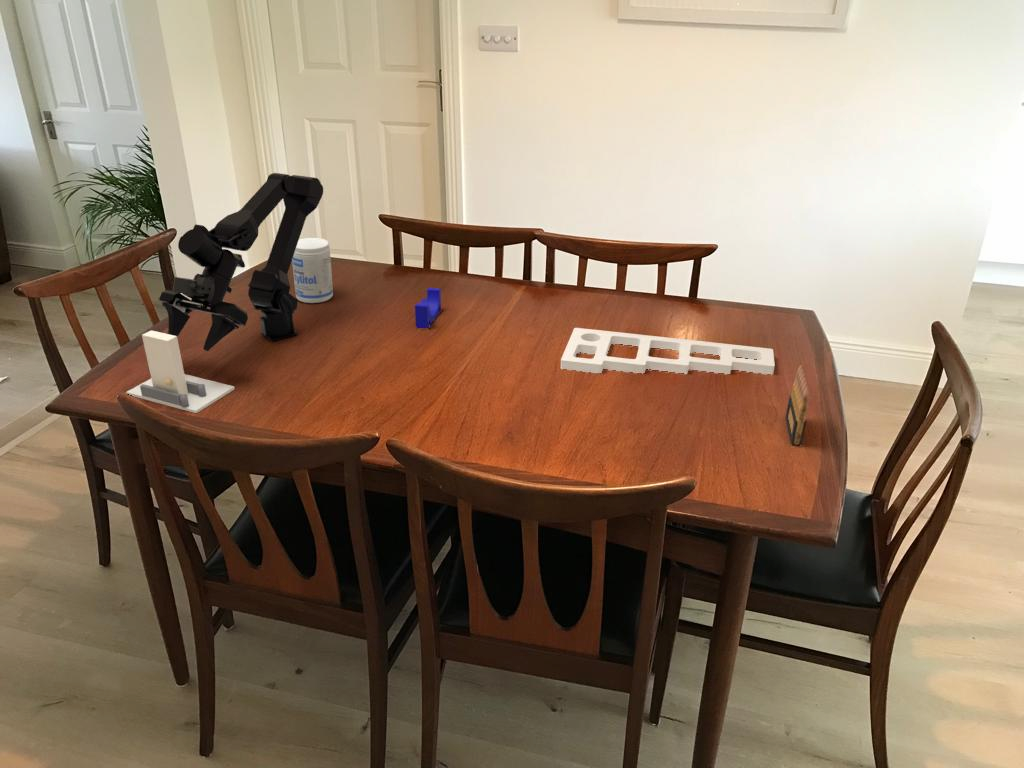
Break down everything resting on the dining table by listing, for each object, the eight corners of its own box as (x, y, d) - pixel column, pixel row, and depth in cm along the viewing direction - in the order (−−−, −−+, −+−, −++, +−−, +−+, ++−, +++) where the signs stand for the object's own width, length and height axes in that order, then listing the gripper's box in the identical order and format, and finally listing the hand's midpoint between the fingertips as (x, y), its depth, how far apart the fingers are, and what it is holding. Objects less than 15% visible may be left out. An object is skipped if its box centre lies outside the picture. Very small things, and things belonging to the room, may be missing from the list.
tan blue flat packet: (785, 417, 160) (795, 362, 154) (795, 418, 159) (806, 363, 154) (791, 445, 150) (802, 388, 145) (801, 446, 150) (813, 389, 144)
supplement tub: (291, 304, 207) (285, 248, 201) (301, 290, 216) (295, 236, 209) (329, 304, 207) (324, 249, 200) (337, 291, 216) (332, 237, 209)
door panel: (163, 388, 165) (151, 330, 159) (188, 395, 163) (176, 336, 157) (150, 396, 162) (137, 337, 156) (175, 403, 160) (162, 343, 154)
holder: (771, 359, 183) (772, 348, 182) (774, 396, 168) (776, 385, 167) (574, 338, 193) (574, 327, 191) (560, 371, 177) (560, 360, 176)
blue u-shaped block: (423, 309, 206) (423, 287, 203) (441, 310, 205) (440, 288, 202) (410, 328, 195) (408, 305, 193) (428, 329, 195) (427, 306, 192)
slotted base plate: (167, 372, 173) (165, 360, 172) (234, 389, 167) (232, 376, 166) (126, 394, 164) (123, 382, 163) (196, 413, 158) (193, 400, 157)
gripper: (155, 252, 164) (124, 322, 161) (229, 266, 158) (198, 339, 154) (191, 276, 174) (162, 343, 171) (261, 290, 168) (233, 360, 164)
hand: (187, 346), depth 165 cm, fingers open, 9 cm apart
